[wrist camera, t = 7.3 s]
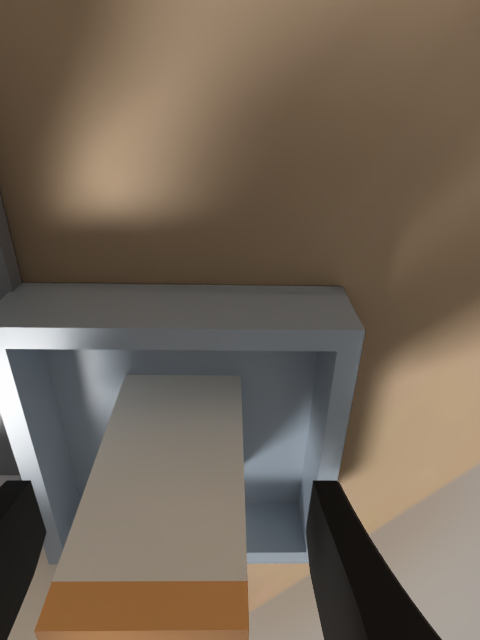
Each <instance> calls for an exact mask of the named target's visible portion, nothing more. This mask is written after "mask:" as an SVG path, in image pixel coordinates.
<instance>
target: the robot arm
mask: <svg viewBox="0 0 480 640" xmlns="http://www.w3.org/2000/svg"><path fill="white" fill-rule="evenodd" d="M46 533H47V531H46V528H45V525H44V522H43V518H42V515H41V512H40V509H39V505H38V502H37V499H36V496H35V492H34V489H33V486H32V483H31V480H7V481H5V482H4V483H3V484H2V485H1V486H0V640H7V639H8V637H9V634H10V632H11V630H12V627H13V625H14V623H15V620H16V618H17V615H18V613H19V611H20V608H21V606H22V603H23V601H24V599H25V596H26V594H27V591H28V589H29V586H30V584H31V581H32V579H33V576H34V574H35V570H36V567H37V564H38V561H39V557H40V554H41V550H42V547H43V543H44V540H45V536H46ZM306 540H307V550H308V558H309V567H310V574H311V579H312V584H313V589H314V594H315V598H316V603H317V608H318V612H319V617H320V621H321V626H322V631H323V635H324V640H442V639H441V638H440V637H439V636H438V634H437V633H436V632H435V631H434V629H433V628H432V627H431V625H430V624H429V623H428V621H427V620H426V619H425V617H424V616H423V615H422V613H421V612H420V611H419V609H418V608H417V607H416V605H415V604H414V603H413V601H412V600H411V598H410V597H409V596H408V594H407V593H406V591H405V590H404V589H403V587H402V586H401V584H400V583H399V582H398V580H397V578H396V577H395V575H394V574H393V573H392V571H391V570H390V568H389V567H388V565H387V564H386V562H385V561H384V559H383V557H382V556H381V554H380V553H379V551H378V549H377V548H376V546H375V545H374V543H373V542H372V540H371V538H370V537H369V535H368V533H367V532H366V530H365V528H364V527H363V525H362V523H361V522H360V520H359V518H358V516H357V515H356V513H355V511H354V509H353V508H352V506H351V504H350V502H349V500H348V498H347V496H346V494H345V493H344V491H343V489H342V487H341V485H340V483H339V482H338V481H337V480H313V484H312V490H311V497H310V504H309V511H308V518H307V525H306Z"/></svg>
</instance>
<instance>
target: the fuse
mask: <svg viewBox="0 0 480 640" xmlns="http://www.w3.org/2000/svg"><path fill="white" fill-rule="evenodd" d="M57 565H58V564H49V563H48V560H47V556H46V553H45V550H44V547H42V550H41V554H40V557H39V561H38V564H37V567H36V570H35V574H34V576H33V579H32V581H31V584H30V586H29V589H28V591H27V594H26V596H25V599H24V601H23V603H22V606H21V608H20V611H19V613H18V615H17V618H16V620H15V623H14V625H13V627H12V630H11V632H10V634H9V637H8V639H7V640H37V638H36V635H35V632H34V630H35V627H36V625H37V622H38V619H39V616H40V613H41V610H42V608H43V605H44V602H45V599H46V596H47V594H48V591H49V588H50V585H51V582H52V580H53V577H54V574H55V571H56V568H57Z"/></svg>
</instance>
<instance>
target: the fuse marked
mask: <svg viewBox="0 0 480 640" xmlns="http://www.w3.org/2000/svg"><path fill="white" fill-rule="evenodd" d="M34 632H35V635H36V638H37V640H248V638H249V611H248V580H247V549H246V517H245V486H244V455H243V423H242V392H241V376H234V375H125V377H124V380H123V383H122V386H121V388H120V391H119V394H118V397H117V400H116V402H115V405H114V408H113V411H112V414H111V416H110V419H109V422H108V425H107V428H106V431H105V433H104V436H103V439H102V442H101V445H100V447H99V450H98V453H97V456H96V459H95V461H94V464H93V467H92V470H91V473H90V476H89V478H88V481H87V484H86V487H85V490H84V492H83V495H82V498H81V501H80V504H79V506H78V509H77V512H76V515H75V518H74V520H73V523H72V526H71V529H70V532H69V535H68V537H67V540H66V543H65V546H64V549H63V551H62V554H61V557H60V560H59V563H58V565H57V568H56V571H55V574H54V577H53V580H52V582H51V585H50V588H49V591H48V594H47V596H46V599H45V602H44V605H43V608H42V610H41V613H40V616H39V619H38V622H37V625H36V627H35V630H34Z"/></svg>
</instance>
